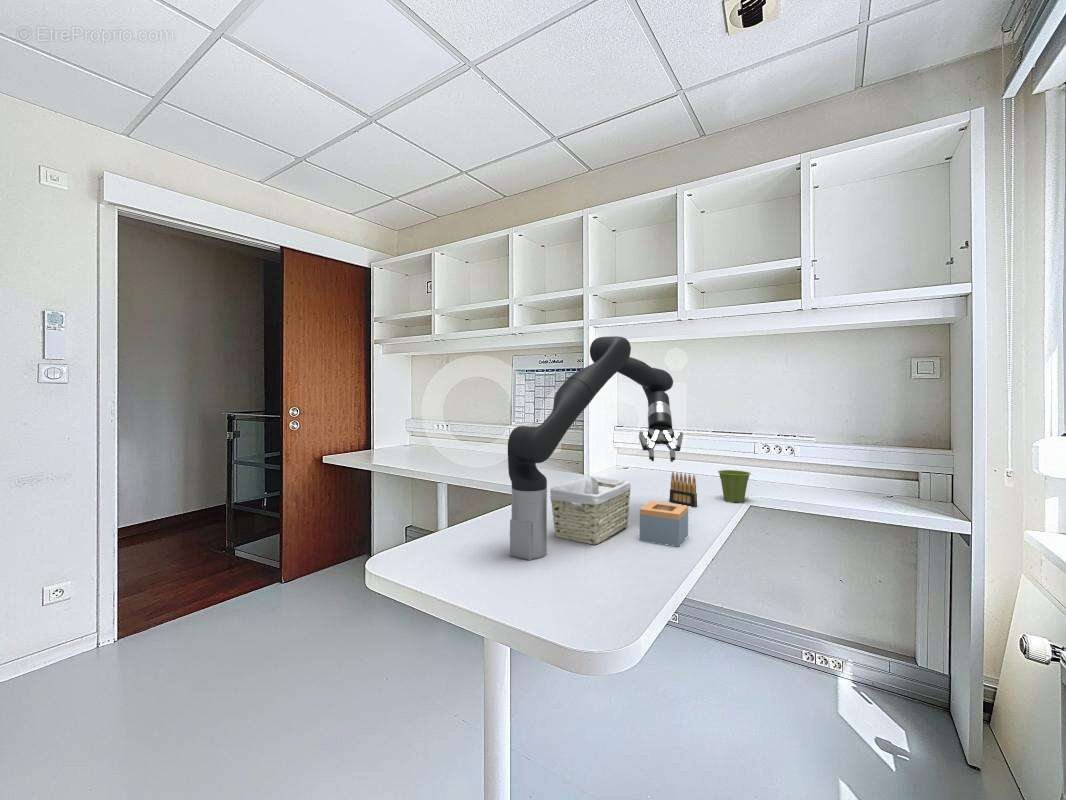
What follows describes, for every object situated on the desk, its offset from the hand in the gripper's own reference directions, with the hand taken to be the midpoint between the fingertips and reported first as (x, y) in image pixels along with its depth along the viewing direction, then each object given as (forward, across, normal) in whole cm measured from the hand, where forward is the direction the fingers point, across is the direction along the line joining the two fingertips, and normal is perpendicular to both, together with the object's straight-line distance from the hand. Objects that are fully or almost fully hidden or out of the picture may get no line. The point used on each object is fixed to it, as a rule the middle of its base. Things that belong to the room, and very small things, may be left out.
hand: (662, 459), depth 144 cm
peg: (+21, 0, +10) cm, 23 cm away
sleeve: (+21, 0, +10) cm, 23 cm away
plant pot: (-17, +31, +48) cm, 60 cm away
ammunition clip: (-10, +11, +41) cm, 43 cm away
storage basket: (+20, -21, +11) cm, 31 cm away
